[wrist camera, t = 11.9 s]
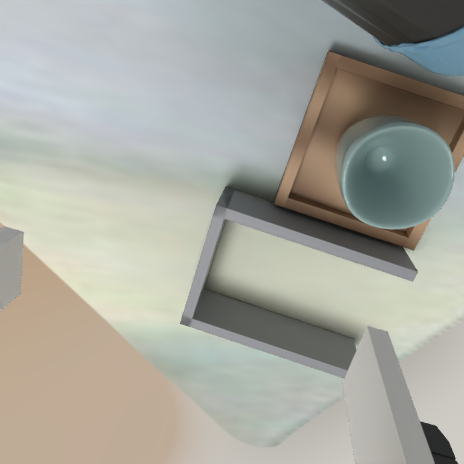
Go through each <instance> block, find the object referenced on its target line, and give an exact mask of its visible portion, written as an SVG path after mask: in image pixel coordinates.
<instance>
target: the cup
mask: <svg viewBox="0 0 464 464" xmlns="http://www.w3.org/2000/svg"><path fill="white" fill-rule="evenodd" d="M334 165H335V176H336V180H337V184H338V188H339V190H340V193H341V195H342V197H343V200H344V202H345V204H346V206H347V208H348V209H349V210H350V211H351V213H352V214H353V215H354V216H355V217H356V218H358V219H359V220H360V221H362V222H364V223H366V224H368V225H370V226H374V227H377V228H382V229H404V228H409V227H413V226H416V225H419V224H421V223H424V222H425V221H427V220H428V219H430V218H432V217H433V216H434V215H435V214H436V213H437V212H438V211H439V210H440V209H441V208H442V206H443V205H444V204H445V202H446V201H447V199H448V196H449V194H450V192H451V189H452V186H453V182H454V173H455V166H454V158H453V155H452V152H451V149H450V147H449V145H448V144H447V143H446V141H445V140H444V138H443V137H441V136H440V135H439V134H438V133H437V132H436V131H434V130H433V129H431V128H429V127H427V126H425V125H423V124H421V123H418V122H416V121H414V120H412V119H409V118H405V117H401V116H397V115H385V114H384V115H374V116H370V117H366V118H363V119H361V120H359V121H357V122H355V123H354V124H352V125H351V126H350V127H348V129H347V130H346V131H345V132H344V133H343V135H342V137H341V138H340V140H339V142H338V145H337V148H336V153H335V159H334Z"/></svg>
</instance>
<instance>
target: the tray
mask: <svg viewBox="0 0 464 464" xmlns="http://www.w3.org/2000/svg"><path fill="white" fill-rule="evenodd" d="M384 114H385V115H397V116H401V117H405V118H409V119H412V120H414V121H416V122H418V123H421V124H423V125H425V126H427V127H429V128H431V129H433V130H434V131H436V132H437V133H438V134H439V135H440V136H441V137H443V138H444V140H445V141H446V143H447V144H448V145H449V147H450V149H451V152H452V155H453V158H454V166H455V171H456V169H457V167H458V166H459V164H460V162H461V160H462V158H463V156H464V96H463V95H460V94H457V93H454V92H451V91H448V90H445V89H442V88H439V87H436V86H433V85H430V84H426V83H423V82H420V81H417V80H414V79H411V78H408V77H405V76H402V75H399V74H396V73H393V72H390V71H387V70H384V69H381V68H378V67H375V66H372V65H369V64H366V63H363V62H360V61H357V60H354V59H351V58H348V57H345V56H342V55H339V54H336V53H333V52H327V55H326V58H325V61H324V64H323V66H322V69H321V72H320V75H319V77H318V80H317V83H316V86H315V88H314V91H313V94H312V97H311V99H310V102H309V105H308V108H307V111H306V113H305V116H304V119H303V122H302V124H301V127H300V130H299V133H298V135H297V138H296V141H295V144H294V146H293V149H292V152H291V155H290V158H289V160H288V163H287V166H286V169H285V171H284V174H283V177H282V180H281V182H280V185H279V188H278V191H277V193H276V196H275V201H274V204H276V205H279V206H282V207H285V208H288V209H291V210H294V211H297V212H300V213H303V214H306V215H309V216H312V217H315V218H318V219H321V220H324V221H327V222H330V223H333V224H336V225H339V226H342V227H345V228H348V229H351V230H354V231H357V232H360V233H363V234H366V235H369V236H372V237H375V238H378V239H381V240H384V241H387V242H390V243H393V244H396V245H399V246H402V247H405V248H408V249H411V250H414V249H415V247H416V246H417V244H418V242H419V240H420V238H421V236H422V234H423V232H424V230H425V228H426V226H427V225H428V223H429V221H430V219H431V218H430V219H428V220H427V221H425V222H424V223H421V224H419V225H416V226H413V227H409V228H404V229H382V228H377V227H374V226H370V225H368V224H366V223H364V222H362V221H360V220H359V219H358V218H356V217H355V216H354V215H353V214H352V213H351V211H350V210H349V209H348V208H347V206H346V204H345V202H344V200H343V197H342V195H341V193H340V190H339V188H338V184H337V180H336V176H335V165H334V159H335V153H336V148H337V145H338V142H339V140H340V138H341V137H342V135H343V133H344V132H345V131H346V130H347V129H348V127H350V126H351V125H352V124H354V123H355V122H357V121H359V120H361V119H363V118H366V117H370V116H374V115H384Z"/></svg>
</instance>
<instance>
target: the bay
mask: <svg viewBox="0 0 464 464" xmlns="http://www.w3.org/2000/svg"><path fill="white" fill-rule="evenodd" d="M225 220H229V221H232V222H235V223H238V224H241V225H244V226H247V227H250V228H253V229H256V230H259V231H262V232H265V233H268V234H271V235H274V236H277V237H280V238H283V239H286V240H289V241H292V242H295V243H298V244H301V245H304V246H307V247H310V248H313V249H316V250H319V251H322V252H325V253H328V254H331V255H334V256H337V257H340V258H343V259H346V260H349V261H353V262H356V263H359V264H362V265H365V266H368V267H371V268H374V269H377V270H380V271H383V272H386V273H389V274H392V275H395V276H398V277H401V278H404V279H407V280H410V281H413V280H414V279H415V277H416V275H417V273H418V271H417V269H416V268H415V266H414V265H413V263H412V261H411V260H410V258H409V256H408V255H407V253H406V251H405V250H404V248H403V247H402V246H399V245H396V244H393V243H390V242H387V241H384V240H381V239H378V238H375V237H372V236H369V235H366V234H363V233H360V232H357V231H354V230H351V229H348V228H345V227H342V226H339V225H336V224H333V223H330V222H327V221H324V220H321V219H318V218H315V217H312V216H309V215H306V214H303V213H300V212H297V211H294V210H291V209H288V208H285V207H282V206H279V205H276V204H274V203H273V202H270V201H267V200H264V199H261V198H258V197H255V196H252V195H249V194H246V193H243V192H240V191H237V190H234V189H231V188H228V187H225V189H224V191H223V193H222V195H221V197H220V199H219V201H218V203H217V205H216V208H215V211H214V214H213V217H212V221H211V224H210V227H209V230H208V234H207V237H206V240H205V243H204V247H203V250H202V253H201V257H200V260H199V263H198V266H197V270H196V273H195V276H194V279H193V283H192V286H191V289H190V292H189V296H188V299H187V302H186V306H185V309H184V312H183V315H182V319H181V322H180V324H183V325H186V326H189V327H192V328H195V329H198V330H201V331H204V332H207V333H210V334H213V335H216V336H219V337H222V338H225V339H228V340H231V341H234V342H237V343H240V344H243V345H246V346H249V347H252V348H255V349H258V350H261V351H264V352H267V353H270V354H273V355H276V356H279V357H282V358H285V359H288V360H291V361H294V362H297V363H300V364H303V365H306V366H309V367H312V368H315V369H317V370H320V371H323V372H326V373H329V374H332V375H335V376H338V377H341V378H345V376H346V373H347V371H348V369H349V367H350V364H351V362H352V360H353V357H354V355H355V353H356V347H355V342H354V339H352V338H349V337H346V336H343V335H340V334H337V333H334V332H331V331H328V330H325V329H322V328H319V327H316V326H313V325H310V324H307V323H304V322H301V321H298V320H295V319H292V318H289V317H286V316H283V315H280V314H277V313H274V312H271V311H268V310H265V309H262V308H259V307H256V306H253V305H250V304H247V303H244V302H241V301H238V300H235V299H232V298H229V297H226V296H223V295H220V294H217V293H214V292H211V291H208V290H205V289H204V286H205V283H206V280H207V277H208V274H209V270H210V267H211V264H212V261H213V258H214V255H215V252H216V249H217V245H218V242H219V239H220V236H221V233H222V230H223V227H224V224H225Z"/></svg>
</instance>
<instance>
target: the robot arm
mask: <svg viewBox="0 0 464 464" xmlns="http://www.w3.org/2000/svg"><path fill="white" fill-rule="evenodd" d="M322 1H324V2H325V3H326V4H328V5H329V6H331V7H332V8H334V9H335V10H337V11H338V12H339V13H341V14H342V15H344V16H345V17H347V18H348V19H350V20H351V21H352V22H354V23H355V24H357V25H358V26H360V27H361V28H363V29H364V30H365V31H367V32H368V33H370V34H371V35H373V37H374V39H375V40H376V42H377V43H378V44H380V45H381V46H382V47H383V48H388V49H389V50H390V51H393V52H399V53H402V54H403V55H405V56H406V57H408V58H410V59H411V60H413V61H415V62H416V63H418V64H420V65H421V66H423V67H424V68H426V69H428V70H429V71H432V72H434V73H438V74H442V75H447V76H462V75H464V0H322ZM23 235H24V232H23V231H19V230H15V229H12V228H8V227H2V228H1V229H0V311H1V310H2V309H4V307H6V306H7V305H8V304H9V303H11V302H12V301H13V300H14V299H15V298H16V297H18V296H19V295H20V294H21V276H22V253H23ZM342 386H343V392H344V398H345V405H346V411H347V417H348V423H349V430H350V436H351V442H352V449H353V455H354V461H355V464H458V463H457V461H455V455H454V453H453V451H452V448H451V446H450V443H449V441H448V440H447V439H446V438H445V436H444V435H443V434H442V433H441V431H440V430H439V429H438V427H437V426H435V425H431V424H428V423H424V422H420V421H419V418H418V415H417V412H416V410H415V407H414V404H413V401H412V398H411V396H410V393H409V390H408V387H407V384H406V382H405V379H404V376H403V373H402V370H401V368H400V365H399V362H398V359H397V356H396V354H395V351H394V348H393V345H392V342H391V340H390V337H389V334H388V332H387V331H384V330H380V329H376V328H373V327H369V326H367V327H366V330H365V332H364V334H363V336H362V339H361V341H360V343H359V346H358V348H357V350H356V353H355V355H354V357H353V360H352V362H351V364H350V367H349V369H348V371H347V373H346V376H345V378H344V380H343V383H342Z"/></svg>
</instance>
